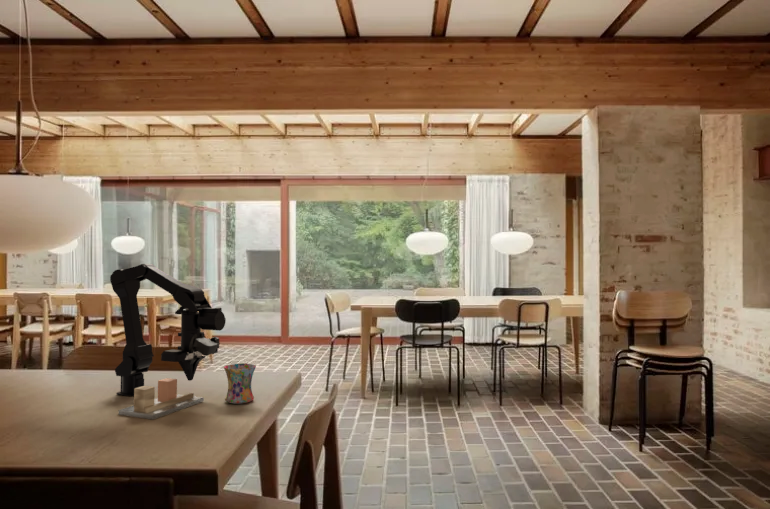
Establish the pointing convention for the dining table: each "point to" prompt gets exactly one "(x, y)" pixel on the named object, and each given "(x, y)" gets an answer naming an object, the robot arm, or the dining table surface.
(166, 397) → the slide leg
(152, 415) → the flange plate
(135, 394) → the bar
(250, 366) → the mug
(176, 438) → the dining table surface
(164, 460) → the dining table surface
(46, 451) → the dining table surface
